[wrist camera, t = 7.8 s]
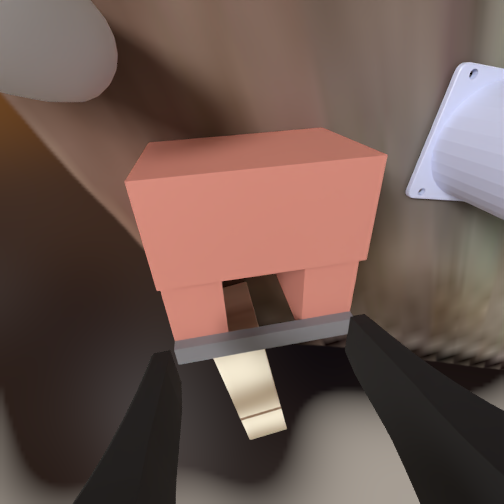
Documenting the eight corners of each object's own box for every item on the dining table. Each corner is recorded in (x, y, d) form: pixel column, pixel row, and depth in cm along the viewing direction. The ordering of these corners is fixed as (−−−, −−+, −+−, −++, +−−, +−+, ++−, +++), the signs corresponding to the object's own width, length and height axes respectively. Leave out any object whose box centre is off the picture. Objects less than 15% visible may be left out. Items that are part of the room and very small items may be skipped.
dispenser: (148, 142, 16) (124, 181, 10) (322, 127, 17) (387, 154, 11) (182, 286, 21) (178, 364, 16) (311, 267, 22) (351, 333, 17)
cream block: (205, 292, 22) (209, 351, 17) (246, 281, 22) (261, 336, 17) (240, 381, 29) (249, 440, 24) (271, 371, 29) (287, 429, 24)
